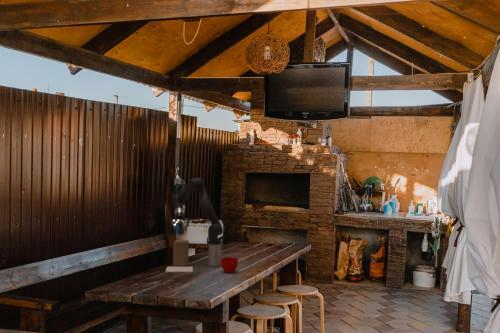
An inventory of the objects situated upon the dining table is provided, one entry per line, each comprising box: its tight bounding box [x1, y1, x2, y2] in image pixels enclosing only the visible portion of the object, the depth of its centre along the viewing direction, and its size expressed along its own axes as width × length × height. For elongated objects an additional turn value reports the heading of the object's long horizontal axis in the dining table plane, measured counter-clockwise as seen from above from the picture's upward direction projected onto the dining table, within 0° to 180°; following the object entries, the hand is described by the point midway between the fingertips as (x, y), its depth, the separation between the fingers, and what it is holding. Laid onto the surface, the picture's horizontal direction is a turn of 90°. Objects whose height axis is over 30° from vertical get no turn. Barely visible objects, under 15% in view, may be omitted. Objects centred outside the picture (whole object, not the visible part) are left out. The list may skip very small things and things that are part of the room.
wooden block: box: [172, 239, 190, 267], centre depth 407 cm, size 10×10×20 cm
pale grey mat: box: [165, 266, 194, 273], centre depth 391 cm, size 20×19×1 cm
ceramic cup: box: [220, 256, 239, 274], centre depth 384 cm, size 13×17×10 cm
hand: (180, 230), depth 423 cm, fingers open, 8 cm apart
